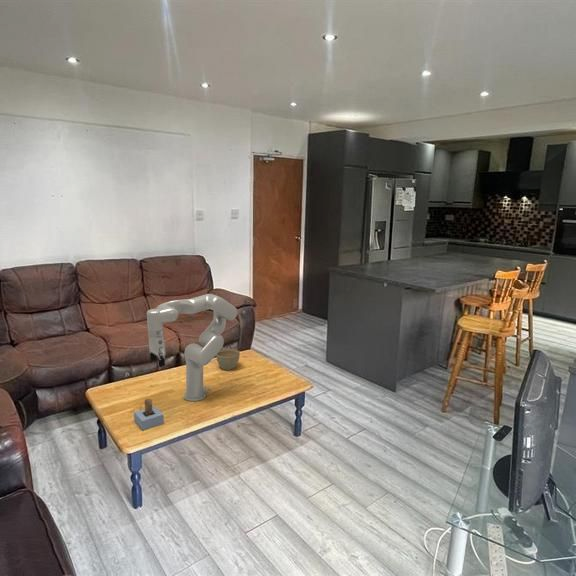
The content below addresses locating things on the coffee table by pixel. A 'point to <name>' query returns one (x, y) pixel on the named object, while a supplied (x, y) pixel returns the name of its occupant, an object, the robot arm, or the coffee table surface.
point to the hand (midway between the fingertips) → (157, 363)
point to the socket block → (149, 418)
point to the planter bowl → (228, 358)
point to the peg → (148, 407)
